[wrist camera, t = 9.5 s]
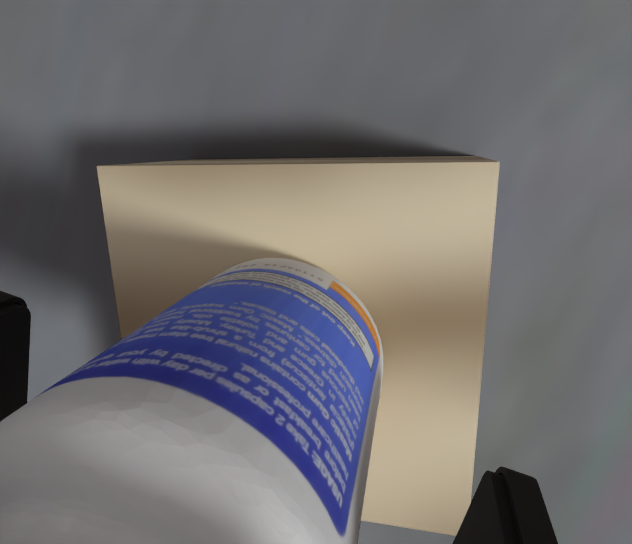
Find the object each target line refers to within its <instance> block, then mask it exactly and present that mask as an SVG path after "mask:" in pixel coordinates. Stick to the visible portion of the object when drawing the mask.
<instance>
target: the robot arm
mask: <svg viewBox="0 0 632 544" xmlns="http://www.w3.org/2000/svg"><path fill="white" fill-rule="evenodd" d="M30 322H31V314H30V311H29V309H27V305H26V303H25V301H24V300H23V299H21V298H19V297H16V296H13V295H11V294H8V293H5V292H2V291H0V422H1V421H2V420H3V419H5V418H6V417H8V416H9V415H11V414H12V413H14V412H15V411H16V410H18V409H19V408H21V407H22V406H24V405H25V404H27V391H28V368H29V345H30ZM453 544H558V542H557V539H556V536H555V533H554V530H553V527H552V524H551V521H550V518H549V515H548V512H547V509H546V506H545V503H544V500H543V497H542V494H541V491H540V488H539V485H538V482H537V480H536V479H535V478H533V477H531V476H528V475H525V474H522V473H519V472H516V471H514V470H511V469H508V468H505V467H499V468H498V469H497V470H496V472H495V473H494V472H491V471H486V472H485V473H484V475H483V477H482V479H481V481H480V484H479V486H478V488H477V490H476V493H475V495H474V497H473V499H472V502H471V504H470V506H469V508H468V510H467V513H466V515H465V517H464V519H463V522H462V524H461V526H460V528H459V531H458V533H457V535H456V537H455V540H454V542H453Z"/></svg>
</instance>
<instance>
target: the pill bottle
mask: <svg viewBox="0 0 632 544" xmlns="http://www.w3.org/2000/svg"><path fill="white" fill-rule="evenodd" d="M382 376H383V350H382V344H381V339H380V336H379V333H378V330H377V327H376V325H375V323H374V321H373V319H372V317H371V315H370V313H369V311H368V310H367V309H366V307H365V306H364V304H363V303H362V302H361V300H360V299H359V298H358V297H357V296H356V295H355V294H354V293H353V292H352V291H351V290H350V289H349V288H348V287H347V286H346V285H345V284H344V283H342V282H341V281H340V280H338V279H337V278H335V277H334V276H332V275H331V274H329V273H327V272H325V271H323V270H321V269H319V268H317V267H314V266H312V265H309V264H307V263H304V262H301V261H296V260H291V259H284V258H263V259H255V260H251V261H247V262H244V263H241V264H238V265H236V266H233V267H231V268H229V269H227V270H225V271H223V272H222V273H220V274H218V275H217V276H215V277H213V278H212V279H210V280H209V281H208V282H206V283H205V284H203V285H202V286H200V287H199V288H197V289H196V290H194V291H193V292H191V293H190V294H188V295H187V296H185V297H184V298H182V299H181V300H180V301H178V302H177V303H175V304H174V305H172V306H171V307H169V308H168V309H166V310H165V311H163V312H162V313H160V314H159V315H158V316H156V317H155V318H153V319H152V320H150V321H149V322H147V323H146V324H144V325H143V326H142V327H140V328H139V329H137V330H136V331H134V332H133V333H131V334H129V335H128V336H126V337H125V338H123V339H122V340H120V341H119V342H118V343H116V344H115V345H113V346H112V347H110V348H109V349H107V350H106V351H104V352H103V353H101V354H100V355H98V356H97V357H95V358H94V359H92V360H91V361H89V362H88V363H86V364H85V365H83V366H82V367H80V368H79V369H77V370H76V371H74V372H73V373H71V374H70V375H68V376H66V377H65V378H63V379H62V380H60V381H59V382H57V383H56V384H54V385H53V386H51V387H50V388H48V389H47V390H45V391H44V392H43V393H41V394H40V395H38V396H37V397H35V398H34V399H33V400H31V401H30V402H28V403H27V404H25V405H24V406H22V407H21V408H19V409H18V410H16V411H15V412H14V413H12V414H11V415H9V416H8V417H6V418H5V419H3V420H2V421H1V422H0V544H357V543H358V536H359V529H360V523H361V516H362V509H363V502H364V495H365V488H366V482H367V475H368V468H369V461H370V455H371V448H372V441H373V435H374V428H375V422H376V416H377V410H378V404H379V398H380V392H381V385H382Z"/></svg>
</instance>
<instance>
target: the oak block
mask: <svg viewBox="0 0 632 544" xmlns="http://www.w3.org/2000/svg"><path fill="white" fill-rule="evenodd" d="M499 165H500V162H498V161H494V160H490V159H486V158H482V157H478V156H429V157H353V158H277V159H201V160H177V161H163V162H148V163H134V164H120V165H106V166H97V172H98V179H99V186H100V193H101V200H102V207H103V214H104V221H105V228H106V235H107V242H108V249H109V256H110V263H111V270H112V277H113V284H114V291H115V298H116V305H117V312H118V319H119V326H120V333H121V340H122V339H123V338H125V337H126V336H128V335H129V334H131V333H133V332H134V331H136V330H137V329H139V328H140V327H142V326H143V325H144V324H146V323H147V322H149V321H150V320H152V319H153V318H155V317H156V316H158V315H159V314H160V313H162V312H163V311H165V310H166V309H168V308H169V307H171V306H172V305H174V304H175V303H177V302H178V301H180V300H181V299H182V298H184V297H185V296H187V295H188V294H190V293H191V292H193V291H194V290H196V289H197V288H199V287H200V286H202V285H203V284H205V283H206V282H208V281H209V280H210V279H212V278H213V277H215V276H217V275H218V274H220V273H222V272H223V271H225V270H227V269H229V268H231V267H233V266H236V265H238V264H241V263H244V262H247V261H251V260H255V259H263V258H284V259H291V260H296V261H301V262H304V263H307V264H309V265H312V266H314V267H317V268H319V269H321V270H323V271H325V272H327V273H329V274H331V275H332V276H334V277H335V278H337V279H338V280H340V281H341V282H342V283H344V284H345V285H346V286H347V287H348V288H349V289H350V290H351V291H352V292H353V293H354V294H355V295H356V296H357V297H358V298H359V299H360V300H361V302H362V303H363V304H364V306H365V307H366V309H367V310H368V311H369V313H370V315H371V317H372V319H373V321H374V323H375V325H376V327H377V330H378V333H379V336H380V339H381V344H382V350H383V376H382V385H381V392H380V398H379V404H378V410H377V416H376V422H375V428H374V435H373V441H372V448H371V455H370V461H369V468H368V475H367V482H366V488H365V495H364V502H363V509H362V516H361V520H362V521H369V522H375V523H381V524H387V525H393V526H399V527H405V528H412V529H418V530H424V531H430V532H436V533H442V534H448V535H455V536H456V535H457V533H458V531H459V528H460V526H461V524H462V522H463V519H464V517H465V515H466V513H467V510H468V508H469V506H470V504H471V492H472V480H473V469H474V457H475V445H476V434H477V422H478V410H479V398H480V387H481V375H482V363H483V352H484V340H485V328H486V317H487V305H488V293H489V282H490V270H491V258H492V246H493V235H494V223H495V211H496V200H497V188H498V176H499Z"/></svg>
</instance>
